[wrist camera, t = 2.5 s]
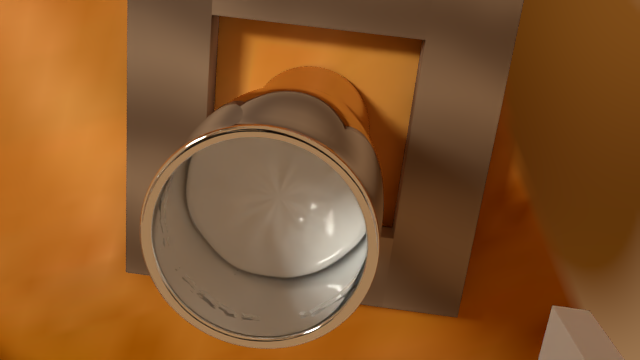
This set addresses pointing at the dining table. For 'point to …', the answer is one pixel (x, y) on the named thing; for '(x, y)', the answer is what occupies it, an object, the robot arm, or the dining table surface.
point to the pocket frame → (423, 132)
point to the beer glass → (269, 213)
